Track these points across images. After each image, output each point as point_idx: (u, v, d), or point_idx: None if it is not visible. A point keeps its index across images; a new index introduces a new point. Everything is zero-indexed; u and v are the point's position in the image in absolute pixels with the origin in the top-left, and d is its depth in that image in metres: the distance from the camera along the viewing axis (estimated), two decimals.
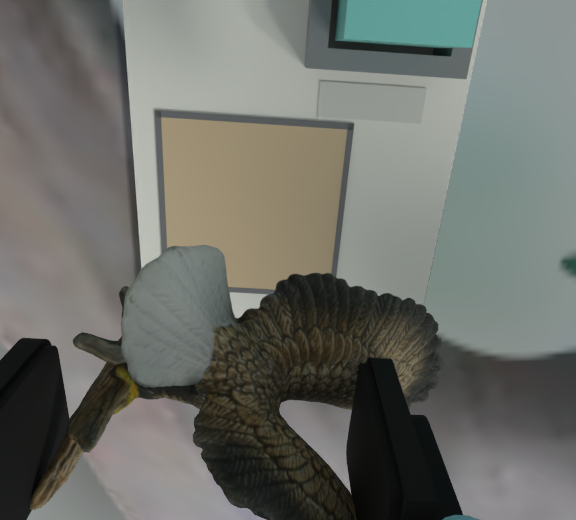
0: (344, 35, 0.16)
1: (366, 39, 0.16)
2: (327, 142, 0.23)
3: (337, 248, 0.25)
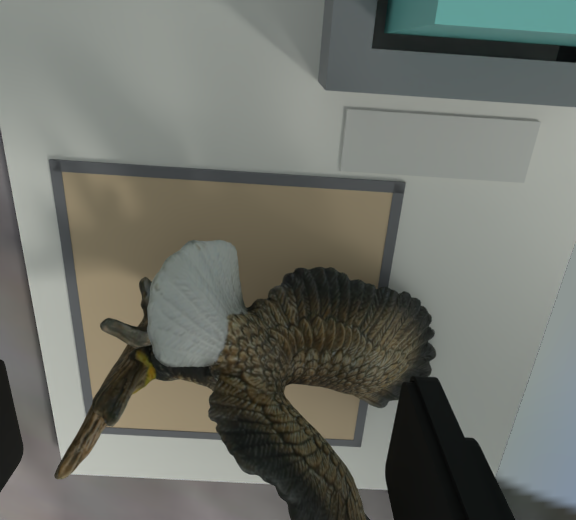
0: (436, 15, 0.06)
1: (493, 26, 0.06)
2: (356, 214, 0.13)
3: None
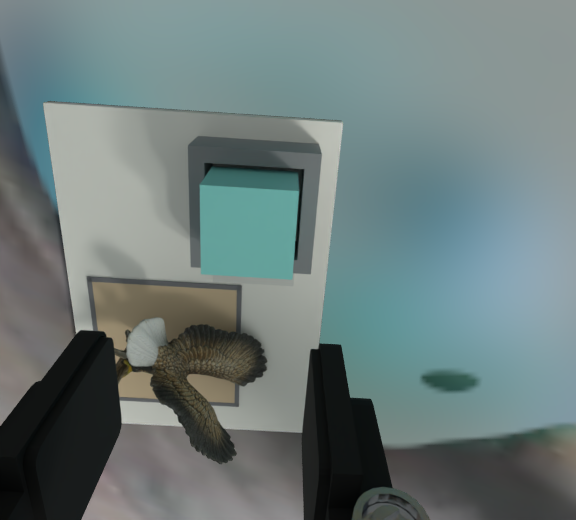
0: (201, 271, 0.22)
1: (217, 274, 0.23)
2: (222, 299, 0.29)
3: None
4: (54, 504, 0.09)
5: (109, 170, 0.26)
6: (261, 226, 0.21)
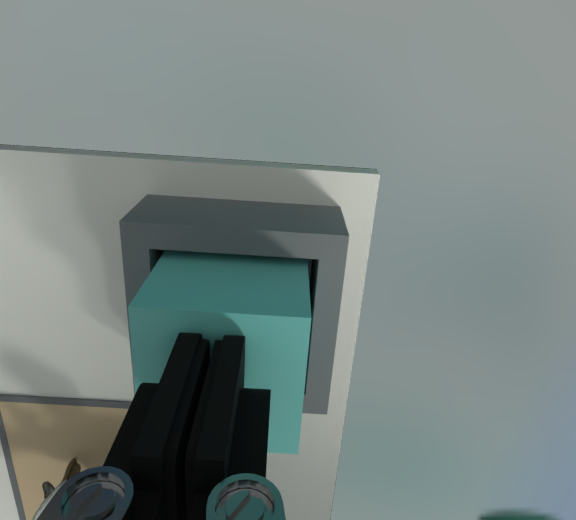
0: None
1: None
2: None
3: None
4: (180, 503, 0.09)
5: (10, 245, 0.17)
6: None
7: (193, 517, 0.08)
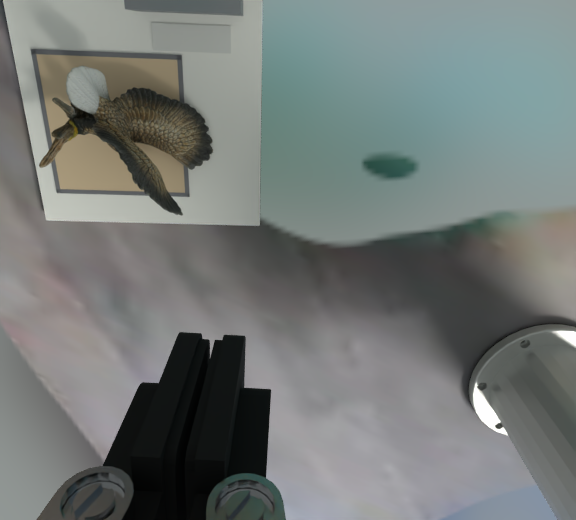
0: None
1: None
2: (163, 70, 0.31)
3: None
4: (181, 503, 0.09)
5: None
6: None
7: (193, 517, 0.08)
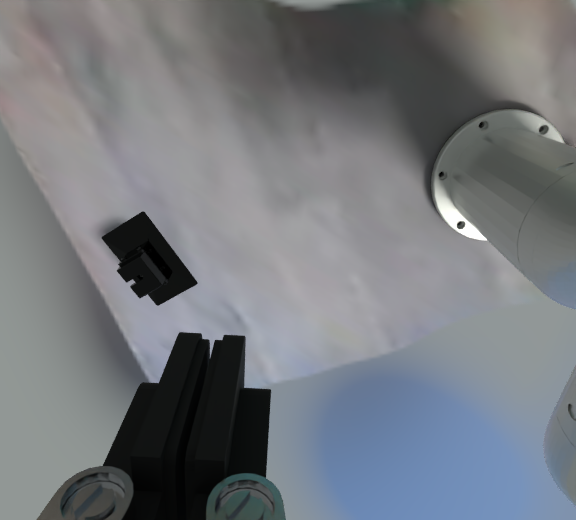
0: None
1: None
2: None
3: None
4: (180, 503, 0.09)
5: None
6: None
7: (193, 517, 0.08)
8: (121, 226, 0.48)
